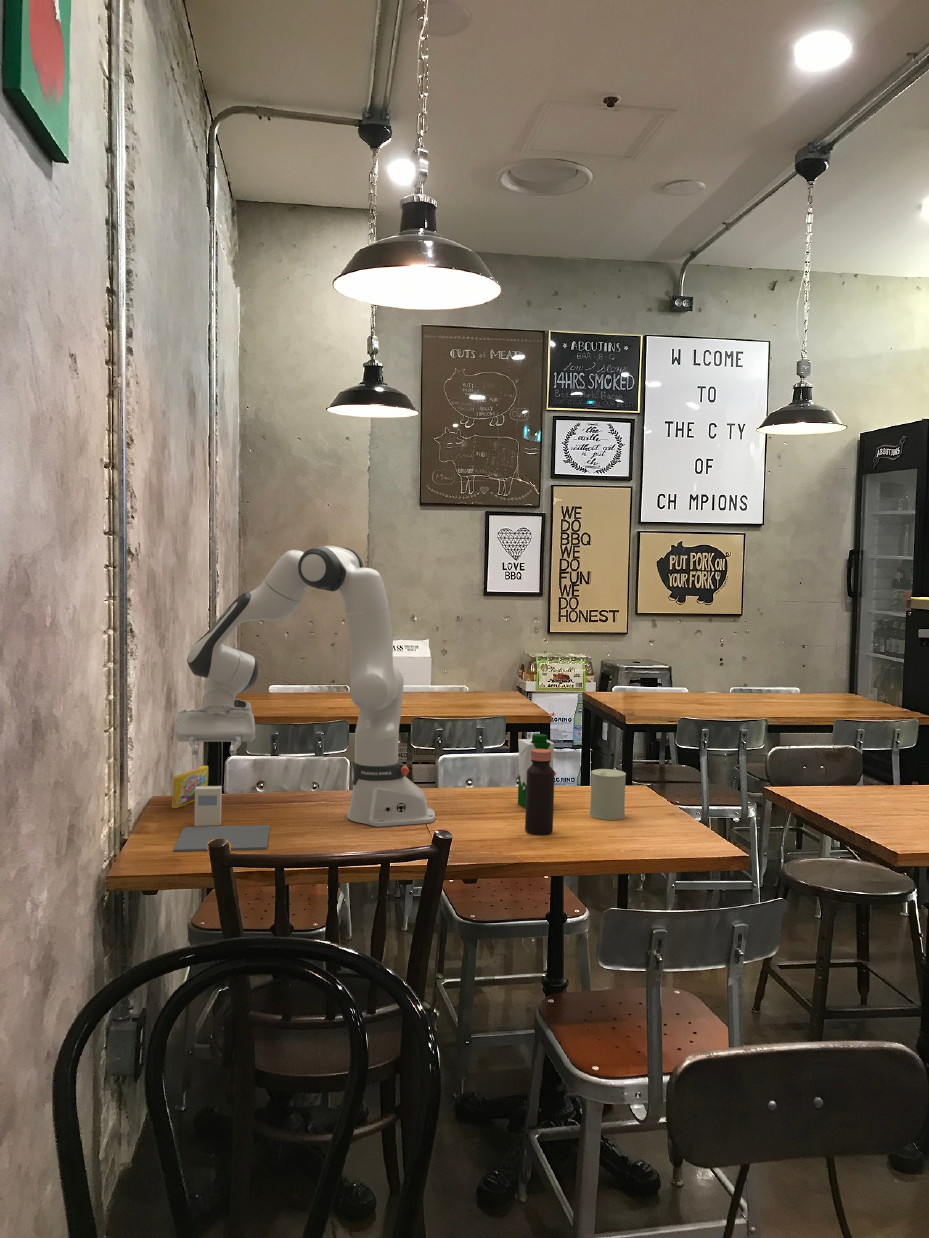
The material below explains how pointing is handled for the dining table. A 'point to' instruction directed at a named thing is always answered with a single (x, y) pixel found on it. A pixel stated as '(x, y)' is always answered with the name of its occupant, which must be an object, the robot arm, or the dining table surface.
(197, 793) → the card deck
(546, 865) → the dining table surface
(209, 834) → the mat
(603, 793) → the can
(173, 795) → the candy box
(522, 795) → the milk carton
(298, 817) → the dining table surface
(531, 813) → the bottle
